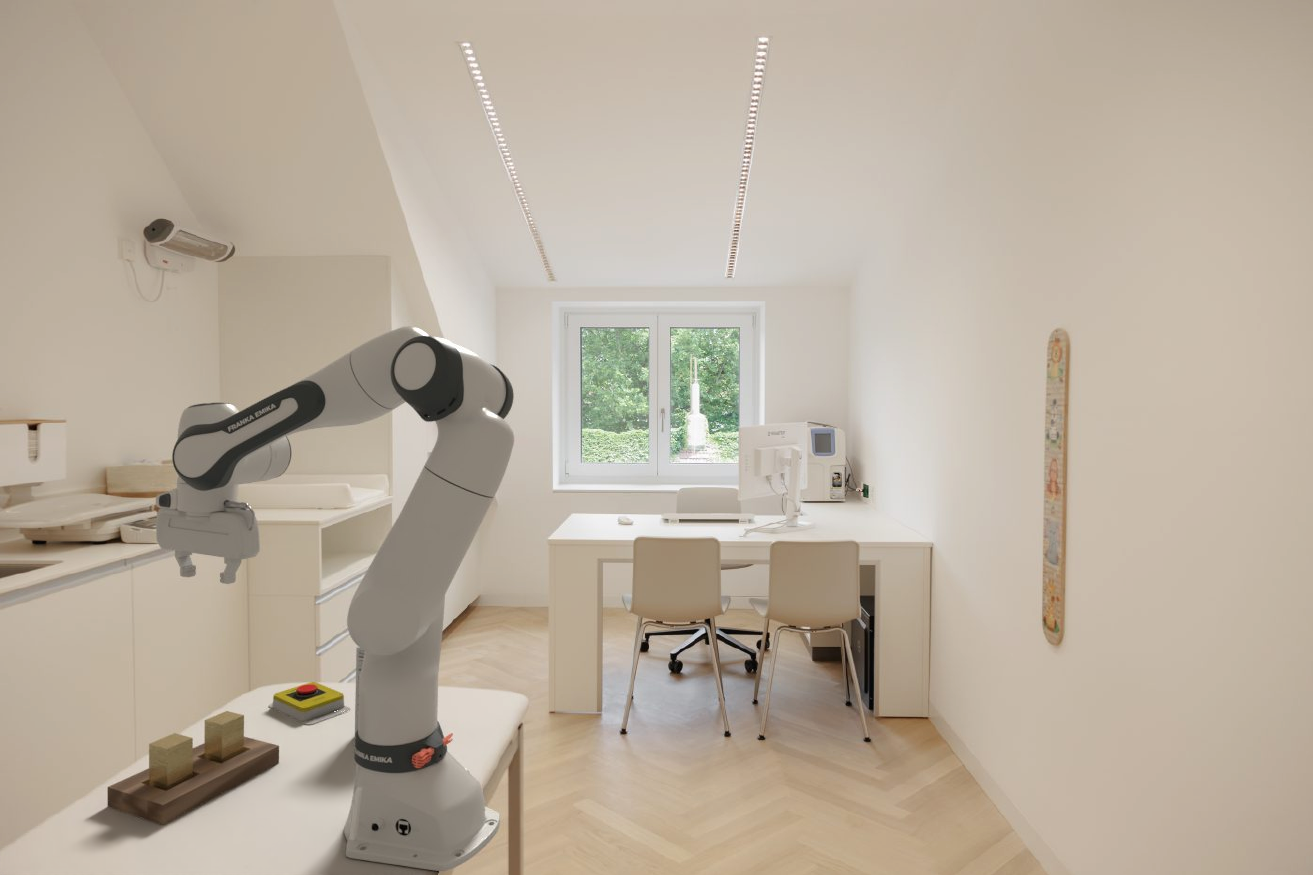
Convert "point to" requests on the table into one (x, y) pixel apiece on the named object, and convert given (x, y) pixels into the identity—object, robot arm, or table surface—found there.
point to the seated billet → (224, 737)
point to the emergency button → (309, 703)
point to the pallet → (191, 783)
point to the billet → (170, 761)
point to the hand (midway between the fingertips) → (207, 579)
